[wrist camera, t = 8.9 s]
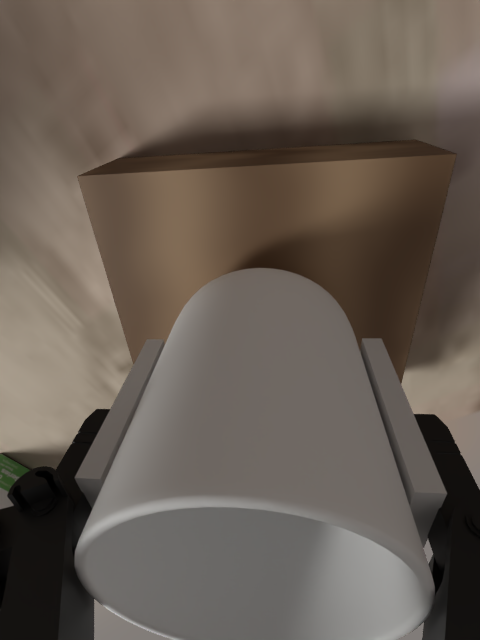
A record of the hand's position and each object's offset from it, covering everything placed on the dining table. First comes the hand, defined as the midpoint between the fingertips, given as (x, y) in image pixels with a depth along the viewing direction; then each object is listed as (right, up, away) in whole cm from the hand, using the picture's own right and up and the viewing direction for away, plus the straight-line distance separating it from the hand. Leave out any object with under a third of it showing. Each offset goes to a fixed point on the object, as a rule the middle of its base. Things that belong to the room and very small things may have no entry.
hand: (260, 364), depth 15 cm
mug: (+1, 0, +2) cm, 3 cm away
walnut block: (+1, +4, +7) cm, 8 cm away
